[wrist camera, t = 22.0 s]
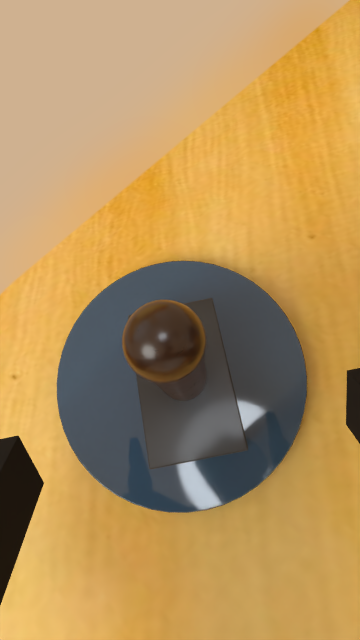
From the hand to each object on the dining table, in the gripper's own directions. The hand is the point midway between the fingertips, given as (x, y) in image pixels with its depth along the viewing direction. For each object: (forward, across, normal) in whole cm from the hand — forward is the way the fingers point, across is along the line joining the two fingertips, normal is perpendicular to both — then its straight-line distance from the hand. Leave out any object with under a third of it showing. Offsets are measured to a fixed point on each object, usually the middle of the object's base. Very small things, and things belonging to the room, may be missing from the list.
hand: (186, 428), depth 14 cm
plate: (+11, -1, -5) cm, 12 cm away
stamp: (+9, 0, -5) cm, 10 cm away
